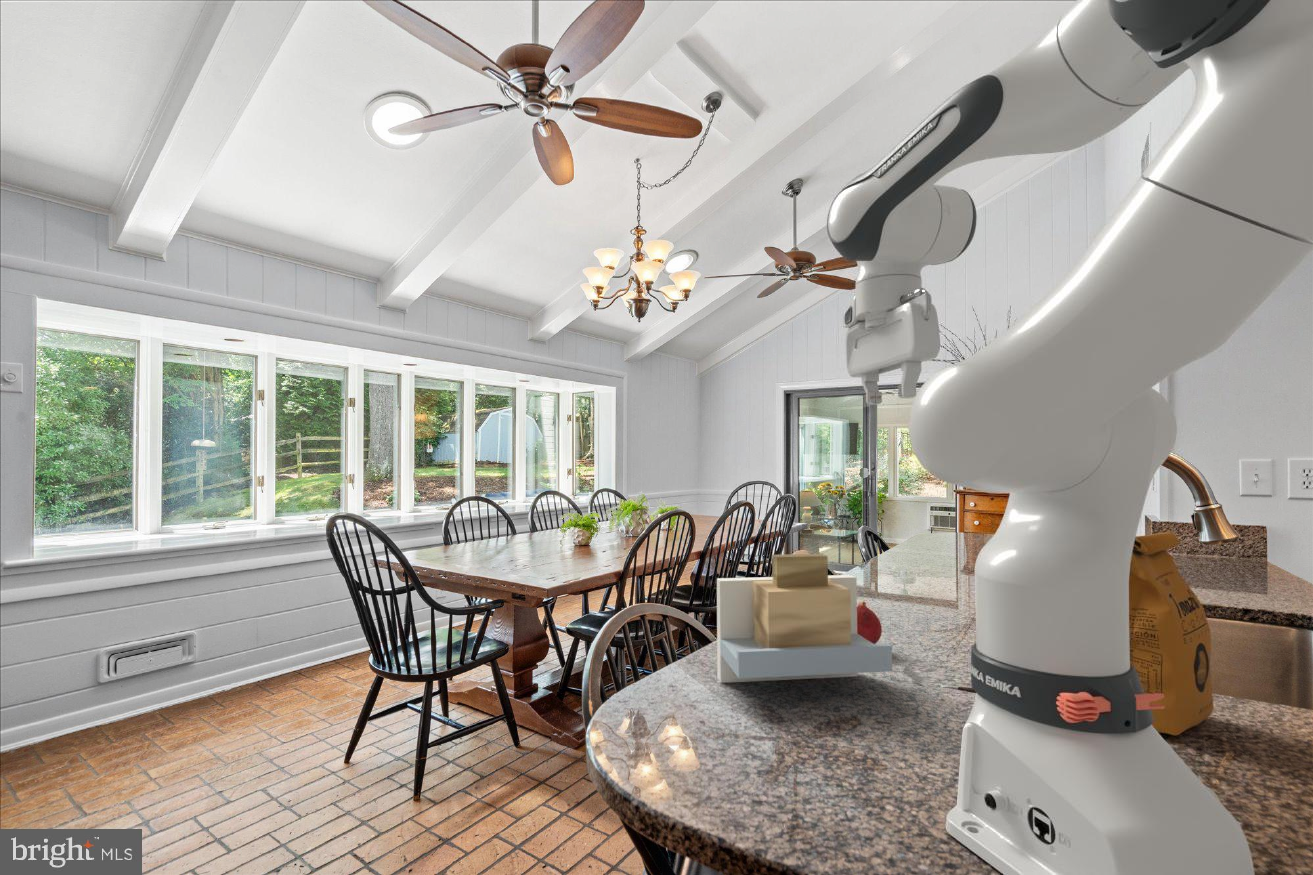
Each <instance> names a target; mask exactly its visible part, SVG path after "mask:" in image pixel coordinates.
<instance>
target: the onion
mask: <svg viewBox="0 0 1313 875" xmlns="http://www.w3.org/2000/svg"><path fill="white" fill-rule="evenodd" d="M882 628H883V627H882V622H881V621H880V618H879V617H878V615H876V614H875V612H874V611H873V610H872V609H871V608H869V607H867V602H865V601H864V600H861V601H858V604H857V634H858V635H860V636H862V637H863V638H865V639H867V640H868V641H870V642H871V643H873V644H878V642H879V640H880V639H881V637H882V632H883V630H882Z"/></svg>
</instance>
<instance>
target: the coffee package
mask: <svg viewBox="0 0 1313 875" xmlns="http://www.w3.org/2000/svg"><path fill="white" fill-rule="evenodd" d="M1180 544H1181V541H1180V539H1179V538H1178V537H1177V536H1176V535H1175V534H1174V533H1173V532H1172V531H1165V532H1157V533H1151V534H1145V535H1139V536H1137V535H1136V537H1135V541H1134V546H1133V551H1132V557H1131V563H1130V574H1129V638H1130V664H1132V665H1133V666H1134V668H1135V669H1136V671H1137V674H1138V676H1139V679H1140V681H1141V684H1142V687H1143V689H1144V692H1145V694H1155V693H1161V694H1163V695H1164V698H1162V699H1159V700H1157V701H1151V702H1150V703H1149V705H1162V706H1165V708H1164V709H1153V710H1151V712H1152V715H1153V718H1154V721H1153V723H1152V725H1153V727H1154V728H1155V729H1156V731H1157V732H1158V733H1159V734H1161V733H1162V734H1168V735H1171V736H1179V735H1181V734H1182V733H1183V732H1185V731H1187V730H1188V729H1191V728H1192V727H1196V726H1198V725H1199V724H1201V723H1202V722H1203V721H1204V720H1207V718H1209V717H1210V716H1211V714H1212V713H1213V710H1214V700H1213V688H1212V686H1213V685H1212V673H1211V659H1212V658H1211V656H1212V651H1211V650H1212V647H1211V646H1212V643H1211V642H1212V639H1211V627H1210V626H1209V621H1208V619H1207V615H1206V613H1205V610H1204V608H1203V605H1202V603H1201V601H1200V600H1199V598H1198V597H1197V595H1196V594H1195V592H1194V591H1193V590H1192V587H1190V585H1189V584H1188V583H1187V582H1186V581H1185V579H1184V578H1183V577H1182V576H1181V575H1180V573H1179V570H1178V567H1177V565H1176V562H1175V561H1174V558H1173V556H1172V555H1171V554H1170V553H1169V552H1168V551H1167V550H1170V549H1173V548H1176V547H1177V546H1179V545H1180Z"/></svg>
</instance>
